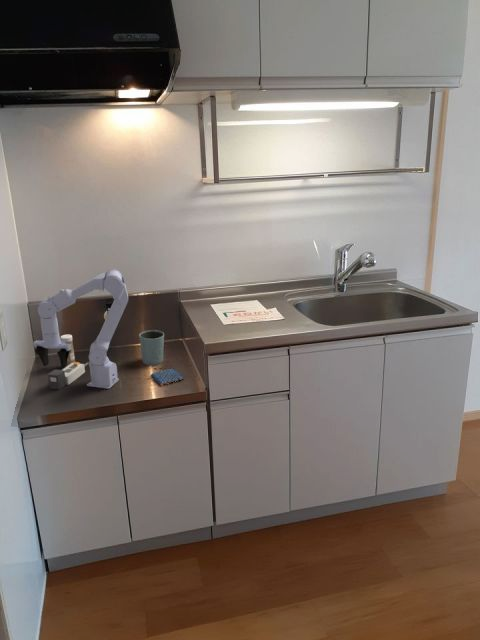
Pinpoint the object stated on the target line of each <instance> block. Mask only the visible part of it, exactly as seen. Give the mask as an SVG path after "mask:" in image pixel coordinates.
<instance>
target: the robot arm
mask: <svg viewBox="0 0 480 640" xmlns="http://www.w3.org/2000/svg"><path fill="white" fill-rule="evenodd" d="M95 290H98V291H104V290H106V291H107V292H108V293H109V294H110V295H111V296H112V298H113V302H112V304H111V306H110V308H109V311H108V314H107V315H106V318H105V321H104V322H103V325H102V327H101V329H100V332H99V334H98V335H97V337H96V339H95V340H94V341H93V342H92V343H91V344H90V346H89V354H88V360H89V361H88V363H89V364H88V366H89V371H90V372H89V373H90V381H89V382H88V383H86V386H87V387H92V388H100V389H109V390H110V389H111V387H112V386H114V385H115V384H116V383H118V381H120V378H119V377H118V376H119V375H118V367H117V363H115V362H113V361H111V360H110V359H109V357H108V356H107V352H108V351H109V350H108V349H109V347H110V343H111V341H112V338H113V336H114V334H115V332H116V329H117V327H118V325H119V322H120V320H121V318H122V316H123V313H124V311H125V309H126V307H127V305H128V303H129V294H128V293H129V292H128V289H127V286H126V280H125V278H124V276H123V274H122V273H121V271H119V270H118V269H110V270H107V271H105V272H101V273H100V274H98V275H96V276H95V277H92V278H91V279H89V280H88V281H86V282H84V283H82V284H80V285H79V286H76V287H75V288H73V289H69V288H66V289H64V288H62V289H60V290H59V291H58V293H56V294H54V295H52V296H47V298H44V299H42V300H41V301H40V302H39V305H38V307H37V314H38V316H39V318H40V319H39V320H40V328H41V334H42V340H38V339H37V340H35V341H33V342H32V343H33V347H34V348H35V349H34V352H35V354H37V356H38V357H39V359H40V360H41V362H42V365H43V367H47V366H48V365H49V364H50V361H49V360H50V359H49V349H55V350H56V349H57V350H58V351H57V353H56V354H57V357H59V361H60V366H61V369H64V368H65V367H66V366H67V360H68V356H69V353H70V351H71V349H72V348H71V344H67V343H64V342H62V341H61V340H60V337H61V336H60V330H59V324H58V323H59V322H58V318H57V312H60V311H62V310H64V309H66V308H68V307H70V306H72V305H74V304H76V301H77V299H78V298H81V297H82V296H84V295H87V294H89V293H90V292H93V291H95Z"/></svg>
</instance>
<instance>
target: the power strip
mask: <svg viewBox="0 0 480 640" xmlns="http://www.w3.org/2000/svg"><path fill="white" fill-rule="evenodd" d="M87 366H89V361H87V362H86V363H80V362H79V361H75V363H71V364H70V365H68V366H67V367H65V368H62V370H64V371H65V379H66V385H65V386H67V385H68V386H69V385H71V383H73V382H74V381H76V380H77V379H78V378H79V377H81V376H82V375H83V374H84V373H86V370H85V369H86V367H87Z"/></svg>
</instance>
